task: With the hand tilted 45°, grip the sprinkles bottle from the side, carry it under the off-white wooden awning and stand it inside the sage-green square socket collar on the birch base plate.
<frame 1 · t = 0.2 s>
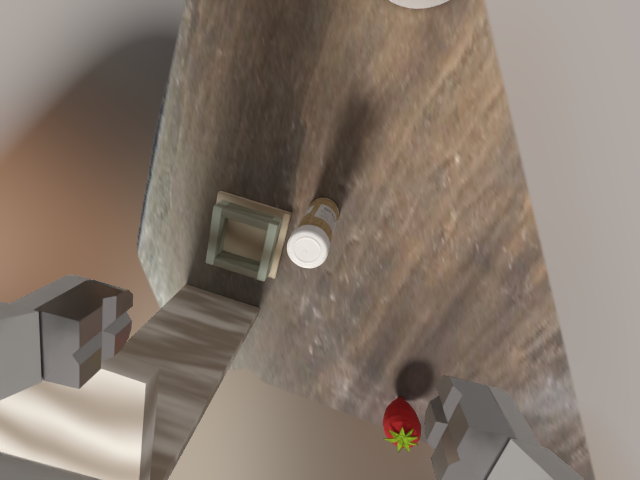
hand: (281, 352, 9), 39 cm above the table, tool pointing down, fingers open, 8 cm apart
sprinkles bottle: (324, 212, 48), on the table
awning socket: (249, 234, 51), on the table
strawberry: (399, 398, 59), on the table
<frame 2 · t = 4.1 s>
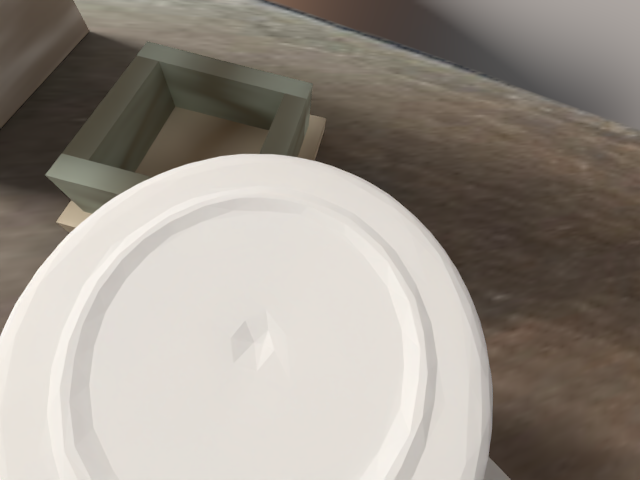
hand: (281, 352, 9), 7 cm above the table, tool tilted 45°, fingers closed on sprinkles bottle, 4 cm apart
sprinkles bottle: (278, 387, 15), on the table, touching gripper
awning socket: (211, 174, 19), on the table
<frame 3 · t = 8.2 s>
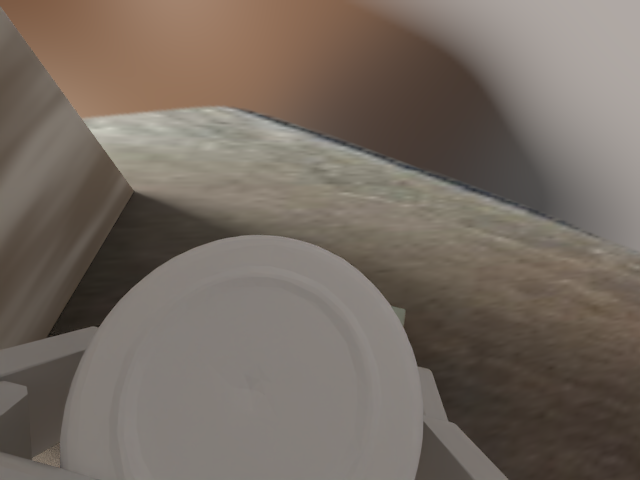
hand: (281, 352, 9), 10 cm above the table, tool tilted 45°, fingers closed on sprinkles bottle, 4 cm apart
sprinkles bottle: (277, 397, 16), point 1 cm above the table, touching awning socket, gripper
awning socket: (282, 391, 17), on the table
when the fingers open (10 cm above the table, at t = 8.6 s): sprinkles bottle stays where it is, resting on awning socket.
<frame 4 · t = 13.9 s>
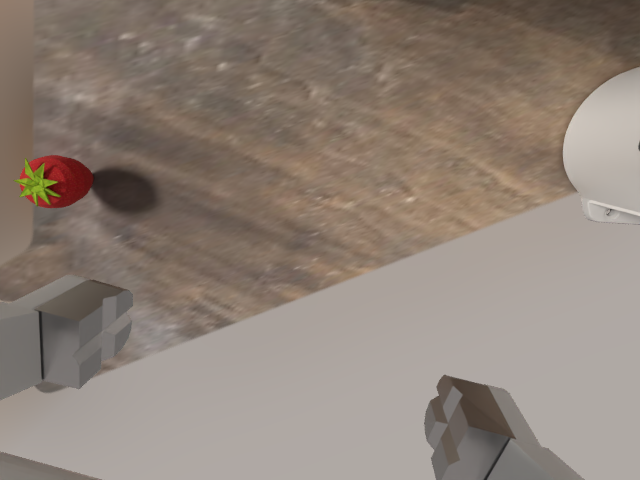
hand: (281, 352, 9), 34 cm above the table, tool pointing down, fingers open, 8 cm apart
strawberry: (90, 176, 44), on the table
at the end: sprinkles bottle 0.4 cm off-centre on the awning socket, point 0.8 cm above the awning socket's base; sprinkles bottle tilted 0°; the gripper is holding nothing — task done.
